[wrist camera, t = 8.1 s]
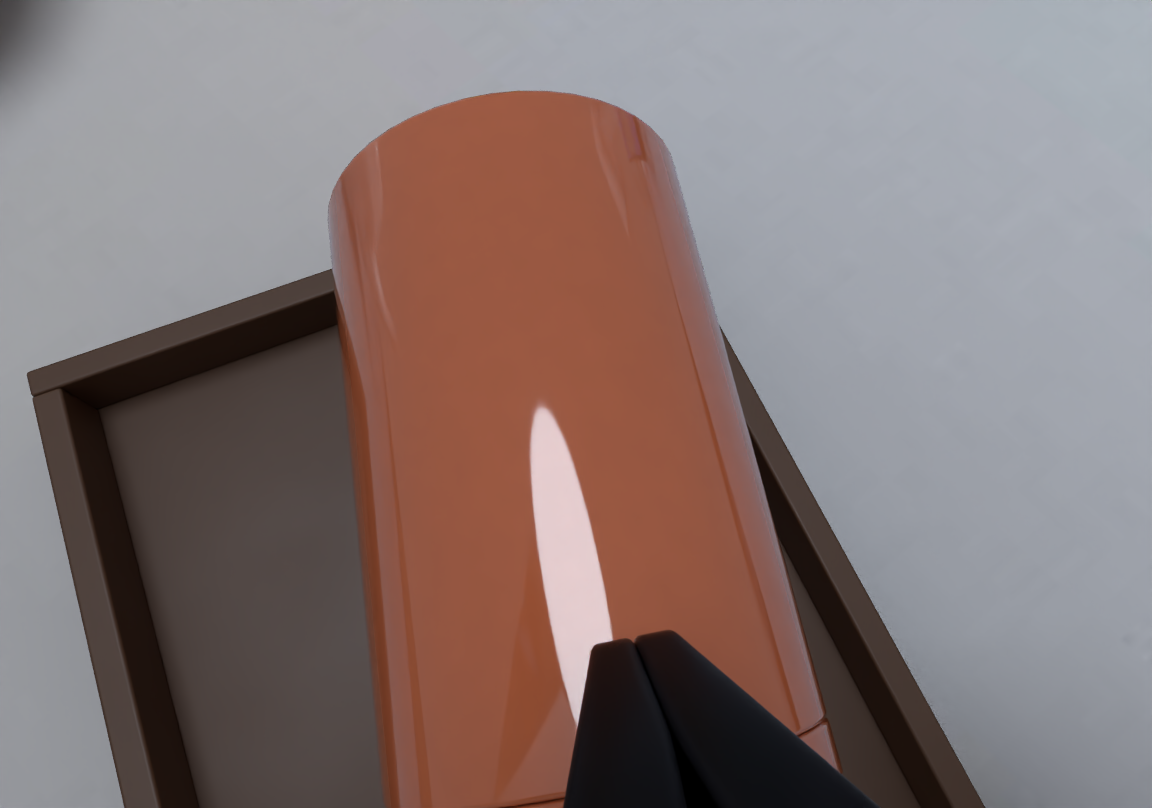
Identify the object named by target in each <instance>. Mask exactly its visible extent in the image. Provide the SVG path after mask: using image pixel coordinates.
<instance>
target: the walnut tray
mask: <svg viewBox="0 0 1152 808" xmlns="http://www.w3.org/2000/svg"><path fill="white" fill-rule="evenodd" d="M719 326H720V325H719ZM720 330H721V334H722V337H723V341H724V344H725V348H726V351H727V355H728V359H729V362H730V366H731V369H732V373H733V376H734V380H735V384H736V387H737V391H738V394H739V398H740V402H741V405H742V409H743V412H744V416H745V419H746V423H747V427H748V430H749V434H750V437H751V441H752V445H753V448H754V452H755V455H756V459H757V462H758V466H759V470H760V473H761V477H762V480H763V484H764V487H765V491H766V495H767V498H768V502H769V505H770V509H771V513H772V516H773V520H774V523H775V527H776V530H777V534H778V538H779V541H780V545H781V548H782V552H783V555H784V559H785V563H786V566H787V570H788V573H789V577H790V581H791V584H792V588H793V591H794V595H795V598H796V602H797V606H798V609H799V613H800V616H801V620H802V623H803V627H804V631H805V634H806V638H807V641H808V645H809V649H810V652H811V656H812V659H813V663H814V666H815V670H816V674H817V677H818V681H819V684H820V688H821V692H822V695H823V699H824V702H825V706H826V717H827V718H828V719H829V721H830V724H831V727H832V731H833V734H834V738H835V742H836V745H837V749H838V752H839V756H840V760H841V763H842V769H843V774H842V775H843V776H845V777H846V778H847V779H848V780H849V781H850V782H852V783H853V784H854V785H855V786H856V787H857V788H859V789H860V790H861V791H862V792H863V793H864V794H866V795H867V796H868V797H869V798H870V799H871V800H873V801H874V802H875V803H876V804H877V805H878V806H880V807H881V808H985V806H984V805H983V803H982V801H981V799H980V797H979V796H978V794H977V792H976V790H975V788H974V786H973V785H972V783H971V781H970V779H969V777H968V776H967V774H966V772H965V770H964V768H963V766H962V765H961V763H960V761H959V759H958V757H957V756H956V754H955V752H954V750H953V748H952V747H951V745H950V743H949V741H948V739H947V737H946V736H945V734H944V732H943V730H942V728H941V727H940V725H939V723H938V721H937V719H936V717H935V716H934V714H933V712H932V710H931V708H930V707H929V705H928V703H927V701H926V699H925V697H924V696H923V694H922V692H921V690H920V688H919V687H918V685H917V683H916V681H915V679H914V678H913V676H912V674H911V672H910V670H909V668H908V667H907V665H906V663H905V661H904V659H903V658H902V656H901V654H900V652H899V650H898V648H897V647H896V645H895V643H894V641H893V639H892V638H891V636H890V634H889V632H888V630H887V629H886V627H885V625H884V623H883V621H882V619H881V618H880V616H879V614H878V612H877V610H876V609H875V607H874V605H873V603H872V601H871V599H870V598H869V596H868V594H867V592H866V590H865V589H864V587H863V585H862V583H861V581H860V579H859V578H858V576H857V574H856V572H855V570H854V569H853V567H852V565H851V563H850V561H849V560H848V558H847V556H846V554H845V552H844V550H843V549H842V547H841V545H840V543H839V541H838V540H837V538H836V536H835V534H834V532H833V530H832V529H831V527H830V525H829V523H828V521H827V520H826V518H825V516H824V514H823V512H822V511H821V509H820V507H819V505H818V503H817V501H816V500H815V498H814V496H813V494H812V492H811V491H810V489H809V487H808V485H807V483H806V481H805V480H804V478H803V476H802V474H801V472H800V471H799V469H798V467H797V465H796V463H795V462H794V460H793V458H792V456H791V454H790V452H789V451H788V449H787V447H786V445H785V443H784V442H783V440H782V438H781V436H780V434H779V432H778V431H777V429H776V427H775V425H774V423H773V422H772V420H771V418H770V416H769V414H768V412H767V411H766V409H765V407H764V405H763V403H762V402H761V400H760V398H759V396H758V394H757V393H756V391H755V389H754V387H753V385H752V383H751V382H750V380H749V378H748V376H747V374H746V373H745V371H744V369H743V367H742V365H741V363H740V362H739V360H738V358H737V356H736V354H735V353H734V351H733V349H732V347H731V345H730V344H729V342H728V340H727V338H726V336H725V334H724V333H723V331H722V329H721V327H720ZM27 377H28V382H29V386H30V391H31V394H32V396H33V404H34V408H35V413H36V417H37V422H38V426H39V430H40V435H41V439H42V444H43V448H44V453H45V457H46V462H47V466H48V470H49V475H50V479H51V484H52V488H53V493H54V497H55V502H56V506H57V510H58V515H59V519H60V524H61V528H62V533H63V537H64V541H65V546H66V550H67V555H68V559H69V564H70V568H71V573H72V577H73V581H74V586H75V590H76V595H77V599H78V604H79V608H80V612H81V617H82V621H83V626H84V630H85V635H86V639H87V644H88V648H89V652H90V657H91V661H92V666H93V670H94V675H95V679H96V683H97V688H98V692H99V697H100V701H101V706H102V710H103V715H104V719H105V723H106V728H107V732H108V737H109V741H110V746H111V750H112V754H113V759H114V763H115V768H116V772H117V777H118V781H119V786H120V790H121V794H122V799H123V803H124V808H385V806H384V805H383V803H382V794H381V783H380V773H379V762H378V751H377V741H376V730H375V719H374V709H373V698H372V687H371V677H370V666H369V655H368V645H367V634H366V623H365V613H364V602H363V591H362V581H361V570H360V559H359V549H358V538H357V527H356V517H355V506H354V495H353V485H352V474H351V463H350V453H349V442H348V431H347V421H346V410H345V399H344V389H343V378H342V367H341V357H340V346H339V335H338V325H337V314H336V303H335V293H334V282H333V271H332V269H330V270H327V271H324V272H321V273H318V274H315V275H312V276H309V277H306V278H303V279H300V280H297V281H295V282H292V283H289V284H286V285H283V286H280V287H277V288H274V289H271V290H268V291H265V292H262V293H259V294H256V295H253V296H250V297H247V298H245V299H242V300H239V301H236V302H233V303H230V304H227V305H224V306H221V307H218V308H215V309H212V310H209V311H206V312H203V313H200V314H198V315H195V316H192V317H189V318H186V319H183V320H180V321H177V322H174V323H171V324H168V325H165V326H162V327H159V328H156V329H153V330H151V331H148V332H145V333H142V334H139V335H136V336H133V337H130V338H127V339H124V340H121V341H118V342H115V343H112V344H109V345H106V346H103V347H101V348H98V349H95V350H92V351H89V352H86V353H83V354H80V355H77V356H74V357H71V358H68V359H65V360H62V361H59V362H56V363H54V364H51V365H48V366H45V367H42V368H39V369H36V370H33V371H30V372H28V373H27Z"/></svg>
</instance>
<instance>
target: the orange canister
mask: <svg viewBox="0 0 1152 808" xmlns="http://www.w3.org/2000/svg"><path fill="white" fill-rule="evenodd" d="M328 229H329V239H330V250H331V261H332V271H333V282H334V293H335V303H336V314H337V325H338V335H339V346H340V357H341V367H342V378H343V389H344V399H345V410H346V421H347V431H348V442H349V453H350V463H351V474H352V485H353V495H354V506H355V517H356V527H357V538H358V549H359V559H360V570H361V581H362V591H363V602H364V613H365V623H366V634H367V645H368V655H369V666H370V677H371V687H372V698H373V709H374V719H375V730H376V741H377V751H378V762H379V773H380V783H381V794H382V803H383V805H384V806H385V808H563V804H564V799H565V793H566V788H567V782H568V776H569V771H570V765H571V760H572V754H573V749H574V743H575V738H576V732H577V726H578V721H579V715H580V710H581V704H582V699H583V693H584V688H585V682H586V677H587V671H588V665H589V660H590V654H591V650H592V648H593V646H594V645H596V644H598V643H603V642H608V641H613V640H618V639H623V638H628V639H631V640H632V642H634V639H635V638H636V637H637V636H639V635H643V634H648V633H653V632H658V631H663V630H672V631H675V632H676V633H678V634H679V635H680V636H681V637H683V638H684V639H685V640H686V641H687V642H688V643H690V644H691V645H692V646H693V647H694V648H695V649H697V650H698V651H699V652H700V653H701V654H702V655H704V656H705V657H706V658H707V659H708V660H709V661H711V662H712V663H713V664H714V665H715V666H716V667H718V668H719V669H720V670H721V671H722V672H723V673H724V674H726V675H727V676H728V677H729V678H730V679H731V680H733V681H734V682H735V683H736V684H737V685H738V686H740V687H741V688H742V689H743V690H744V691H745V692H747V693H748V694H749V695H750V696H751V697H752V698H754V699H755V700H756V701H757V702H758V703H759V704H761V705H762V706H763V707H764V708H765V709H766V710H768V711H769V712H770V713H771V714H772V715H773V716H775V717H776V718H777V719H778V720H779V721H780V722H782V723H783V724H784V725H785V726H786V727H787V728H789V729H790V730H791V731H792V732H793V733H794V734H796V735H797V736H798V737H799V738H800V739H801V740H803V741H804V742H805V743H806V744H807V745H808V746H810V747H811V748H812V749H813V750H814V751H815V752H817V753H818V754H819V755H820V756H821V757H822V758H824V759H825V760H826V761H827V762H828V763H829V764H831V765H832V766H833V767H834V768H835V769H836V770H838V771H839V772H840V773H841V774H843V769H842V763H841V760H840V756H839V752H838V749H837V745H836V742H835V738H834V734H833V731H832V727H831V724H830V721H829V719H828V718H827V717H826V706H825V702H824V699H823V695H822V692H821V688H820V684H819V681H818V677H817V674H816V670H815V666H814V663H813V659H812V656H811V652H810V649H809V645H808V641H807V638H806V634H805V631H804V627H803V623H802V620H801V616H800V613H799V609H798V606H797V602H796V598H795V595H794V591H793V588H792V584H791V581H790V577H789V573H788V570H787V566H786V563H785V559H784V555H783V552H782V548H781V545H780V541H779V538H778V534H777V530H776V527H775V523H774V520H773V516H772V513H771V509H770V505H769V502H768V498H767V495H766V491H765V487H764V484H763V480H762V477H761V473H760V470H759V466H758V462H757V459H756V455H755V452H754V448H753V445H752V441H751V437H750V434H749V430H748V427H747V423H746V419H745V416H744V412H743V409H742V405H741V402H740V398H739V394H738V391H737V387H736V384H735V380H734V376H733V373H732V369H731V366H730V362H729V359H728V355H727V351H726V348H725V344H724V341H723V337H722V334H721V330H720V326H719V323H718V319H717V316H716V312H715V308H714V305H713V301H712V298H711V294H710V291H709V287H708V283H707V280H706V276H705V273H704V269H703V266H702V262H701V258H700V255H699V251H698V248H697V244H696V240H695V237H694V233H693V230H692V226H691V223H690V219H689V215H688V212H687V208H686V205H685V201H684V198H683V194H682V190H681V187H680V183H679V180H678V176H677V172H676V169H675V165H674V162H673V159H672V156H671V153H670V152H669V150H668V148H667V147H666V145H665V143H664V142H663V140H662V139H661V138H660V137H659V136H658V135H657V134H656V133H655V132H654V130H653V129H652V128H651V127H650V126H648V125H647V124H646V123H644V122H643V121H642V120H640V119H639V118H638V117H636V116H635V115H633V114H631V113H629V112H627V111H625V110H623V109H621V108H620V107H618V106H615V105H612V104H609V103H606V102H604V101H601V100H598V99H595V98H590V97H586V96H581V95H576V94H571V93H562V92H553V91H511V92H501V93H491V94H485V95H480V96H475V97H470V98H465V99H461V100H457V101H454V102H451V103H447V104H444V105H440V106H437V107H434V108H432V109H430V110H427V111H425V112H422V113H420V114H417V115H415V116H412V117H410V118H408V119H407V120H405V121H403V122H401V123H399V124H397V125H396V126H394V127H392V128H390V129H388V130H387V131H386V132H384V133H383V134H381V135H380V136H378V137H377V138H376V139H374V140H373V141H371V142H370V143H369V144H368V145H367V146H366V147H365V148H364V149H362V150H361V151H360V152H359V153H358V154H357V155H356V156H355V157H354V158H353V159H352V161H351V162H350V163H349V164H348V166H347V167H346V168H345V169H344V171H343V172H342V174H341V176H340V178H339V179H338V181H337V183H336V185H335V187H334V189H333V192H332V195H331V199H330V202H329V206H328Z"/></svg>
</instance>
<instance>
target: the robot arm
mask: <svg viewBox="0 0 1152 808" xmlns="http://www.w3.org/2000/svg"><path fill="white" fill-rule="evenodd" d="M563 808H881V807H880V806H878V805H877V804H876V803H875V802H874V801H873V800H871V799H870V798H869V797H868V796H867V795H866V794H864V793H863V792H862V791H861V790H860V789H859V788H857V787H856V786H855V785H854V784H853V783H852V782H850V781H849V780H848V779H847V778H846V777H845V776H843V775H842V774H841V773H840V772H839V771H838V770H836V769H835V768H834V767H833V766H832V765H831V764H829V763H828V762H827V761H826V760H825V759H824V758H822V757H821V756H820V755H819V754H818V753H817V752H815V751H814V750H813V749H812V748H811V747H810V746H808V745H807V744H806V743H805V742H804V741H803V740H801V739H800V738H799V737H798V736H797V735H796V734H794V733H793V732H792V731H791V730H790V729H789V728H787V727H786V726H785V725H784V724H783V723H782V722H780V721H779V720H778V719H777V718H776V717H775V716H773V715H772V714H771V713H770V712H769V711H768V710H766V709H765V708H764V707H763V706H762V705H761V704H759V703H758V702H757V701H756V700H755V699H754V698H752V697H751V696H750V695H749V694H748V693H747V692H745V691H744V690H743V689H742V688H741V687H740V686H738V685H737V684H736V683H735V682H734V681H733V680H731V679H730V678H729V677H728V676H727V675H726V674H724V673H723V672H722V671H721V670H720V669H719V668H718V667H716V666H715V665H714V664H713V663H712V662H711V661H709V660H708V659H707V658H706V657H705V656H704V655H702V654H701V653H700V652H699V651H698V650H697V649H695V648H694V647H693V646H692V645H691V644H690V643H688V642H687V641H686V640H685V639H684V638H683V637H681V636H680V635H679V634H678V633H676V632H675V631H672V630H663V631H658V632H653V633H648V634H643V635H639V636H637V637H636V638H635V639H634V642H632V640H631V639H628V638H623V639H618V640H613V641H608V642H603V643H598V644H596V645H594V646H593V648H592V650H591V654H590V660H589V665H588V671H587V677H586V682H585V688H584V693H583V699H582V704H581V710H580V715H579V721H578V726H577V732H576V738H575V743H574V749H573V754H572V760H571V765H570V771H569V776H568V782H567V788H566V793H565V799H564V804H563Z"/></svg>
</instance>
